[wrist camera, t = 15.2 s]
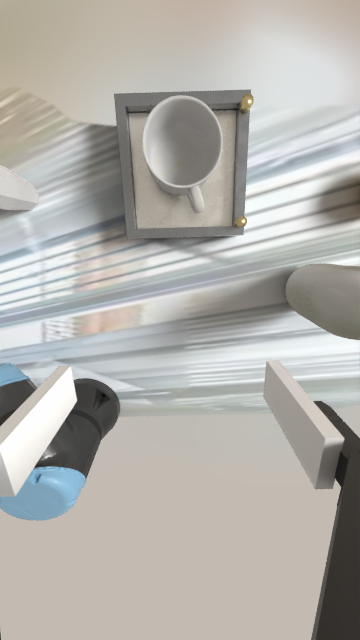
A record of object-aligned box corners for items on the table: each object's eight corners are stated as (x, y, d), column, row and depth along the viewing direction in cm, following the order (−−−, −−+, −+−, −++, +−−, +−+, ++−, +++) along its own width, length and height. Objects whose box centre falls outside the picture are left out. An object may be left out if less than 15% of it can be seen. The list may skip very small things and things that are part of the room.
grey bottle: (330, 298, 50) (504, 361, 23) (282, 315, 51) (396, 393, 24) (321, 253, 47) (509, 264, 20) (271, 271, 48) (387, 305, 21)
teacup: (143, 129, 38) (134, 100, 30) (211, 118, 37) (219, 85, 29) (157, 223, 42) (153, 218, 34) (219, 214, 41) (228, 207, 34)
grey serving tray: (132, 238, 46) (125, 238, 39) (122, 113, 40) (111, 86, 33) (236, 236, 46) (246, 234, 39) (241, 109, 40) (254, 82, 33)
